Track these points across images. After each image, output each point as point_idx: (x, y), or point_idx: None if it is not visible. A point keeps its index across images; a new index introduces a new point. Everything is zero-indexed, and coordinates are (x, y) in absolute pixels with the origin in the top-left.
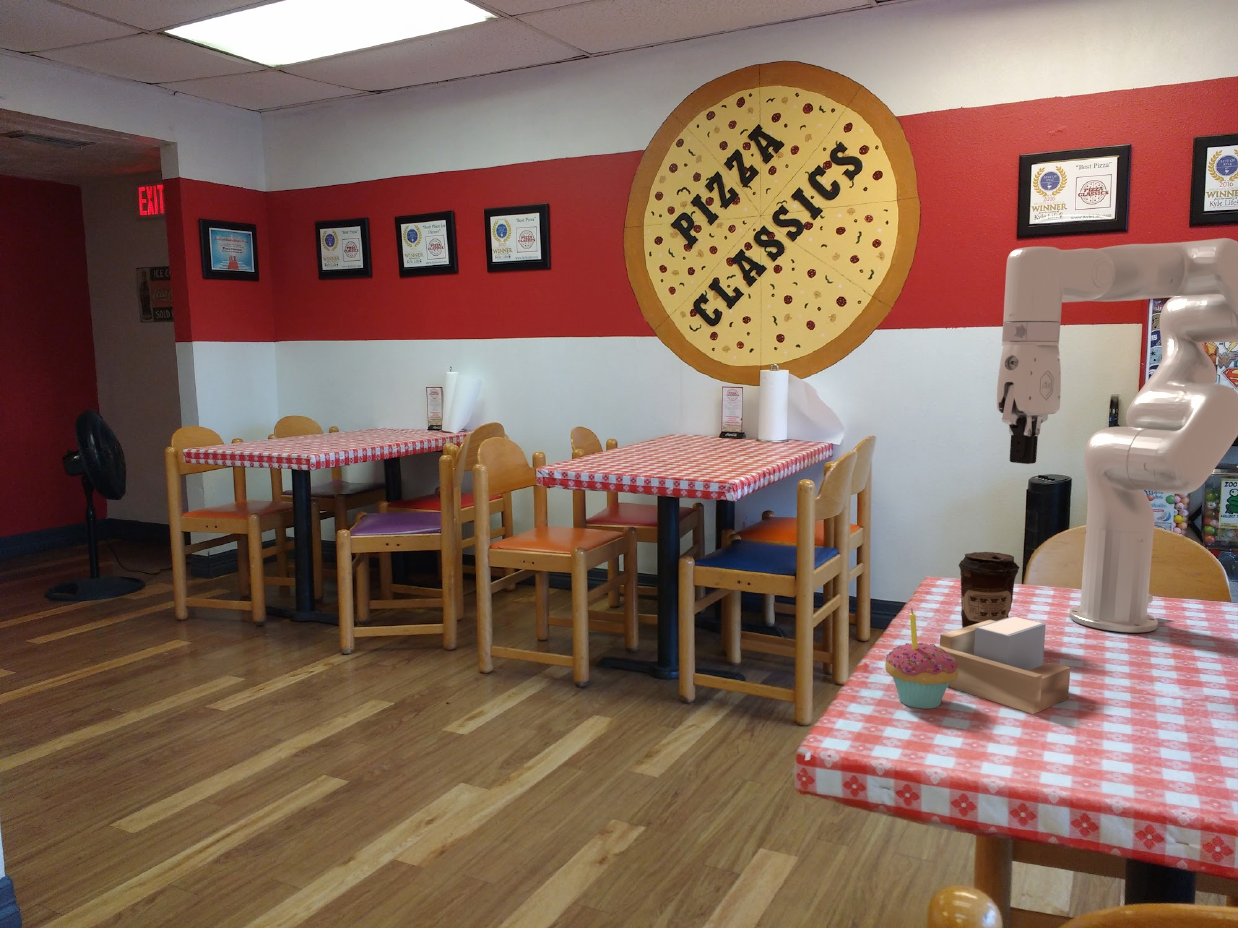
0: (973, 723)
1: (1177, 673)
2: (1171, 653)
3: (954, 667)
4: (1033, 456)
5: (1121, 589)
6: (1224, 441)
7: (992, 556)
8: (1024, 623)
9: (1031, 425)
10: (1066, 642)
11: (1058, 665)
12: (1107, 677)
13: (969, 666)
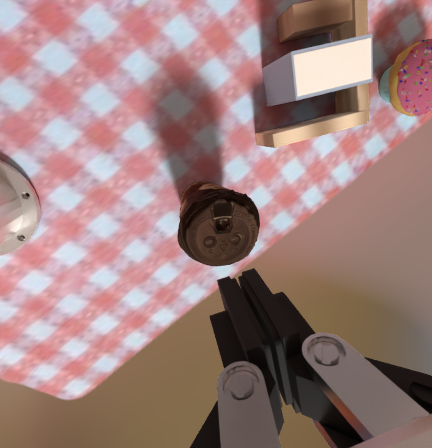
0: (399, 18)
1: (80, 12)
2: (13, 74)
3: (422, 43)
4: (237, 288)
5: None
6: None
7: (221, 232)
8: (313, 65)
9: (333, 389)
10: (119, 163)
11: (297, 18)
12: (179, 47)
13: None
